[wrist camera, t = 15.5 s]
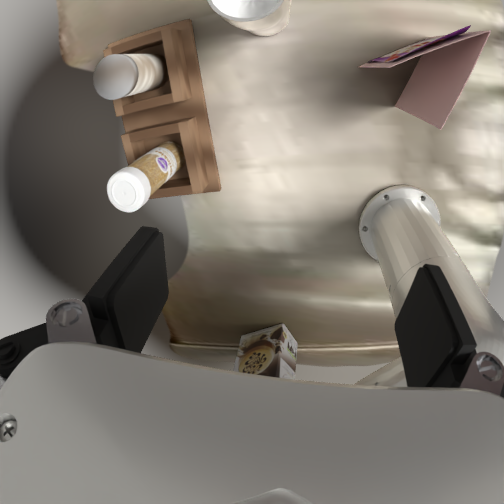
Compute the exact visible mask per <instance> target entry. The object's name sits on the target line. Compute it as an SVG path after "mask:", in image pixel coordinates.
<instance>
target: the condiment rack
mask: <svg viewBox="0 0 504 504" xmlns="http://www.w3.org/2000/svg"><path fill="white" fill-rule="evenodd" d="M103 52H104V58H103V59H102V60H101V61H100V62H99V63H98V65H97V66H96V68H95V71H94V76H93V82H94V87H95V89H96V91H97V93H98V94H99V95H100V96H102V97H103V98H105V99H108V100H113V104H114V108H115V113H116V117H117V116H121V115H122V119H123V124H124V128H125V132H126V133H125V134H123V135H121V138H122V142H123V146H124V150H125V154H126V158H127V162H128V166H129V165H131V164H132V163H133V162H134V161H136V160H137V159H139V158H140V157H142V156H143V155H145V154H146V153H148V152H149V151H151V150H152V149H154V148H156V147H158V146H159V145H160V144H161V143H163V142H166V141H173V142H175V143H177V144H179V145H180V146H181V147H182V148H183V150H184V155H185V163H184V165H183V167H182V168H181V169H180V170H178V171H176V172H175V173H174V175H173V176H172V177H171V178H170V179H168V180H167V181H166V182H165V183H164V184H163V185H162V186H160V187H159V189H157V190H156V191H155V192H154V193H153V194H152V195H151V196H150V197H149V199H154V198H161V197H170V196H179V195H188V194H197V193H206V192H216V191H220V190H221V184H220V179H219V174H218V168H217V163H216V158H215V152H214V147H213V141H212V136H211V130H210V125H209V119H208V114H207V108H206V102H205V97H204V91H203V85H202V80H201V74H200V68H199V62H198V56H197V51H196V45H195V39H194V33H193V27H192V21H191V20H190V19H187V20H183V21H179V22H175V23H171V24H168V25H164V26H161V27H158V28H154V29H151V30H148V31H145V32H142V33H139V34H136V35H133V36H130V37H127V38H124V39H122V40H119V41H116V42H114V43H111V44H108V49H105V50H103Z"/></svg>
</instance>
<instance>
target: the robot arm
mask: <svg viewBox="0 0 504 504" xmlns="http://www.w3.org/2000/svg"><path fill="white" fill-rule="evenodd" d="M384 195H386V196H385V197H384ZM422 195H423V196H422ZM421 196H422V197H421ZM364 226H366V227H364ZM359 235H360V239H361V242H362V245H363V247H364V249H365V250H366V252H367V253H368V254H369V255H370V256H371V257H372V258H374V259H375V260H377V261H379V263H380V266H381V270H382V273H383V276H384V279H385V283H386V286H387V289H388V293H389V296H390V300H391V303H392V306H393V310H394V314H395V317H396V322H395V332H396V336H397V341H398V345H399V349H400V354H401V357H399V358H397V359H396V360H394V361H392V362H391V363H389V364H387V365H386V366H384V367H382V368H380V369H379V370H377V371H375V372H373V373H372V374H370V375H368V376H367V377H365V378H363V379H361V380H360V381H358V382H357V383H355V384H354V385H349V384H336V383H324V382H313V381H301V380H293V379H285V378H277V377H269V376H261V375H254V374H248V373H241V372H235V371H228V370H222V369H216V368H210V367H205V366H200V365H194V364H189V363H184V362H179V361H175V360H170V359H165V358H160V357H155V356H150V355H146V354H141V351H142V349H143V347H144V345H145V343H146V341H147V339H148V337H149V335H150V333H151V331H152V329H153V326H154V324H155V323H156V320H157V319H158V316H159V315H160V313H161V311H162V309H163V307H164V305H165V303H166V301H167V298H168V292H169V290H168V281H167V273H166V262H165V251H164V242H163V241H164V240H163V234H162V233H161V232H159V230H158V229H157V228H153V227H144V226H142V227H141V228H140V229H139V230H138V231H137V232H136V234H135V235H134V236H133V237H132V238H131V240H130V241H129V242H128V243H127V244H126V246H125V247H124V248H123V249H122V250H121V252H120V253H119V254H118V256H117V257H116V258H115V259H114V260H113V262H112V263H111V264H110V265H109V267H108V268H107V269H106V270H105V272H104V273H103V274H102V276H101V277H100V278H99V279H98V281H97V282H96V283H95V285H94V286H93V287H92V288H91V290H90V291H89V292H88V294H87V295H86V296H85V298H84V299H83V300H82V301H81V300H77V299H64V300H62V301H59V302H57V303H56V304H54V305H53V306H52V307H51V308H50V309H49V310H48V313H47V315H46V323H44V324H41V325H38V326H35V327H32V328H30V329H27V330H24V331H21V332H19V333H16V334H13V335H10V336H7V337H5V338H3V339H1V340H0V504H504V320H503V319H502V318H501V317H500V315H499V314H498V313H497V312H496V311H495V309H494V308H493V307H492V305H491V304H490V303H489V301H488V300H487V299H486V297H485V296H484V294H483V292H482V291H481V289H480V288H479V286H478V285H477V283H476V282H475V280H474V278H473V277H472V275H471V274H470V272H469V270H468V269H467V267H466V265H465V264H464V262H463V261H462V259H461V258H460V256H459V255H458V253H457V251H456V250H455V248H454V247H453V245H452V244H451V242H450V241H449V239H448V238H447V236H446V235H445V234H444V232H443V231H442V229H441V228H440V214H439V210H438V208H437V206H436V204H435V202H434V201H433V199H432V198H431V197H430V196H429V195H428V194H427V193H426V192H424V191H423V190H421V189H419V188H417V187H414V186H408V185H398V186H393V187H389V188H387V189H385V190H383V191H381V192H379V193H378V194H376V195H375V196H374V197H373V198H372V199H371V200H370V201H369V202H368V203H367V205H366V206H365V208H364V210H363V212H362V214H361V217H360V221H359Z"/></svg>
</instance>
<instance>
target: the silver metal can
mask: <svg viewBox="0 0 504 504" xmlns="http://www.w3.org/2000/svg"><path fill="white" fill-rule="evenodd" d="M207 1H208V3H209V5H210V6H211V8H212V9H213V10H214V11H215V12H216V13H217V14H218V15H219V16H220V17H221V18H223V19H224V20H225V21H226V22H228V23H229V24H231V25H233V26H235V27H237V28H240V29H243V30H248V31H249V32H251V33H253V34H255V35H259V36H271V35H275V34H277V33H279V32H281V31H282V30H283V29H284V28H285V27H286V26H287V24H288V22H289V19H290V7H291V2H292V0H207Z"/></svg>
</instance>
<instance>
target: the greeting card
mask: <svg viewBox="0 0 504 504" xmlns="http://www.w3.org/2000/svg"><path fill="white" fill-rule="evenodd" d="M470 26H471V25H470ZM470 26H467V27H465V28H463V29H460V30H458V31H455V32H453V33H451V34H448V35H443V36H436V37H431V38H428V39H425V40H422V41H420V42H417V43H414V44H412V45H409V46H406V47H404V48H401V49H399V50H396V51H394V52H391V53H389V54H386V55H384V56H382V57H379V58H376V59H374V60H371V61H369V62H368V63H365V64H363V65H361V66H359V67H379V68H390V67H392V66H395V65H397V64H400V63H402V62H405V61H407V60H410V59H412V58H415V57H417V56H420V55H422V56H421V58H420V60H419V62H418V64H417V66H416V68H415V69H414V71H413V73H412V75H411V77H410V79H409V81H408V83H407V85H406V86H405V88H404V90H403V92H402V94H401V96H400V98H399V99H398V101H397V103H396V105H395V107H397V108H399V109H401V110H404V111H406V112H408V113H410V114H412V115H414V116H416V117H418V118H420V119H422V120H424V121H426V122H428V123H430V124H432V125H434V126H435V127H437V128H439V129H442V127H443V125H444V124H445V122H446V120H447V118H448V116H449V115H450V113H451V111H452V109H453V107H454V105H455V103H456V102H457V100H458V98H459V96H460V94H461V92H462V90H463V88H464V86H465V84H466V82H467V80H468V78H469V76H470V74H471V72H472V70H473V68H474V66H475V64H476V62H477V60H478V58H479V56H480V54H481V52H482V50H483V47H484V45H485V43H486V41H487V39H488V36H489V34H490V32H491V31H479V32H468V33H464V32H466V31H467V30H468V29H469V27H470Z"/></svg>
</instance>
